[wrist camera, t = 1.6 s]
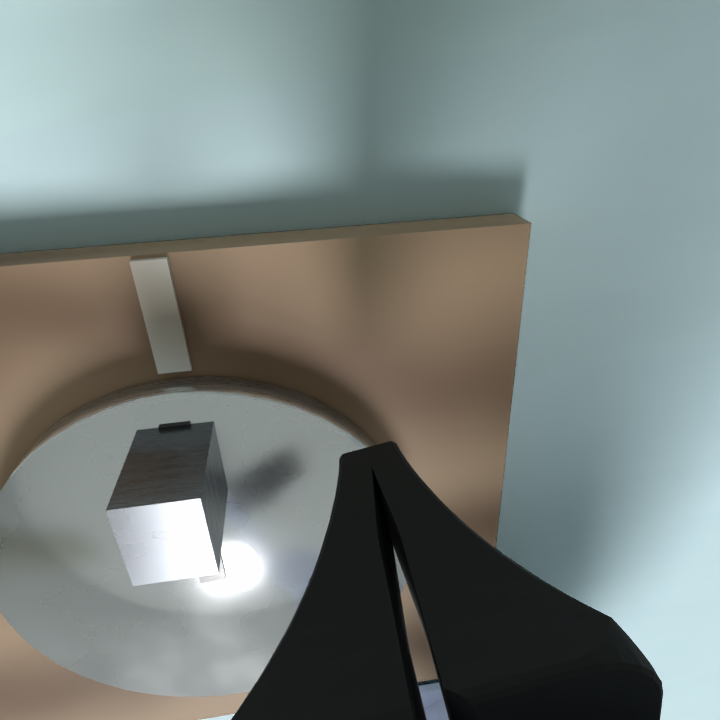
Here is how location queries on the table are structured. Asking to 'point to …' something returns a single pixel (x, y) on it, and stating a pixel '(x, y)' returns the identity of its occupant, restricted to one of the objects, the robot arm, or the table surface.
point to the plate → (272, 371)
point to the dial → (171, 531)
